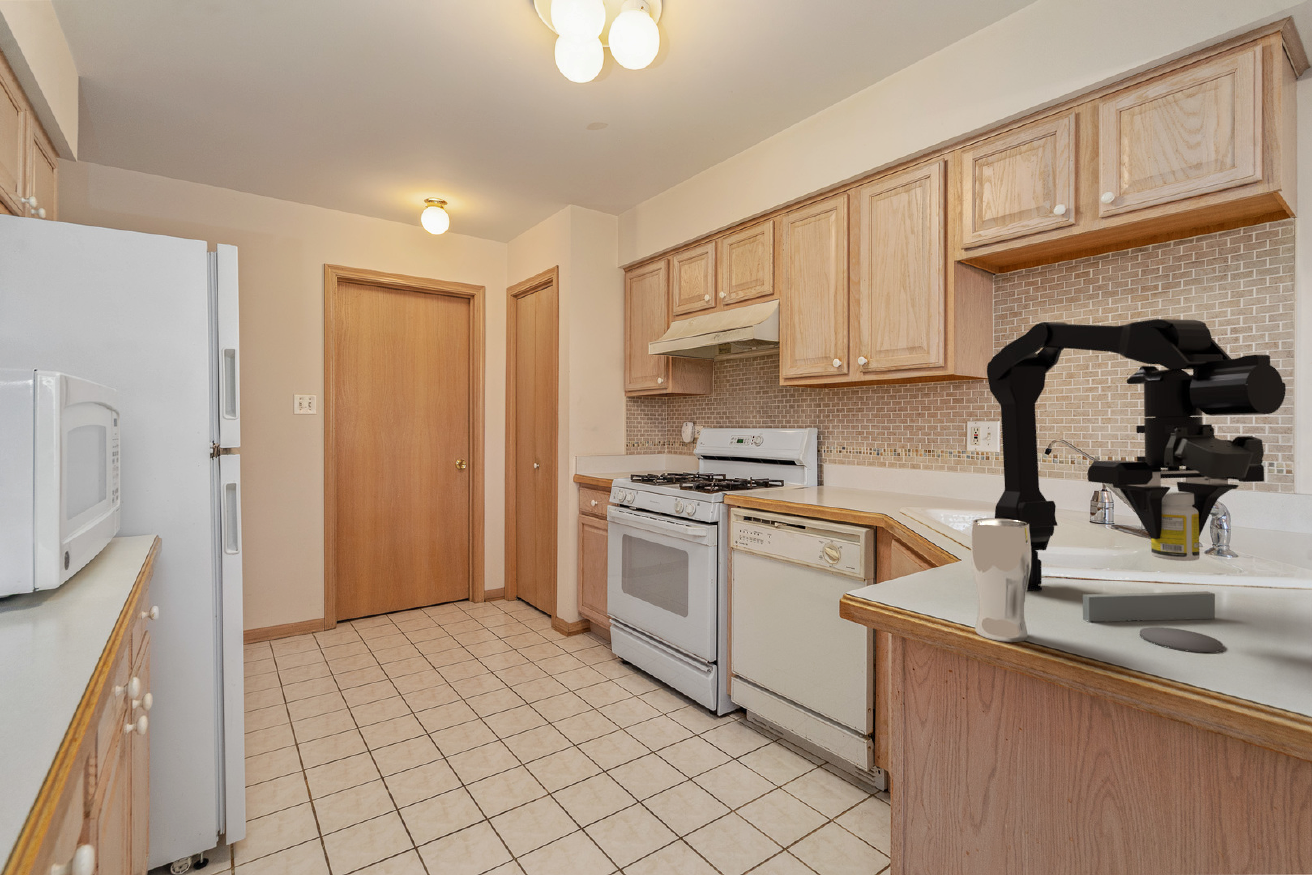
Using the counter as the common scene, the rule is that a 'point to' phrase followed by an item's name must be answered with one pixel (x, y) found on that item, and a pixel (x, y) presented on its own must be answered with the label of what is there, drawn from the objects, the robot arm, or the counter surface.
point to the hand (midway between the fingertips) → (1174, 538)
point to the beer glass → (1001, 577)
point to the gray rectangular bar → (1149, 606)
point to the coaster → (1181, 639)
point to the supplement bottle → (1178, 528)
